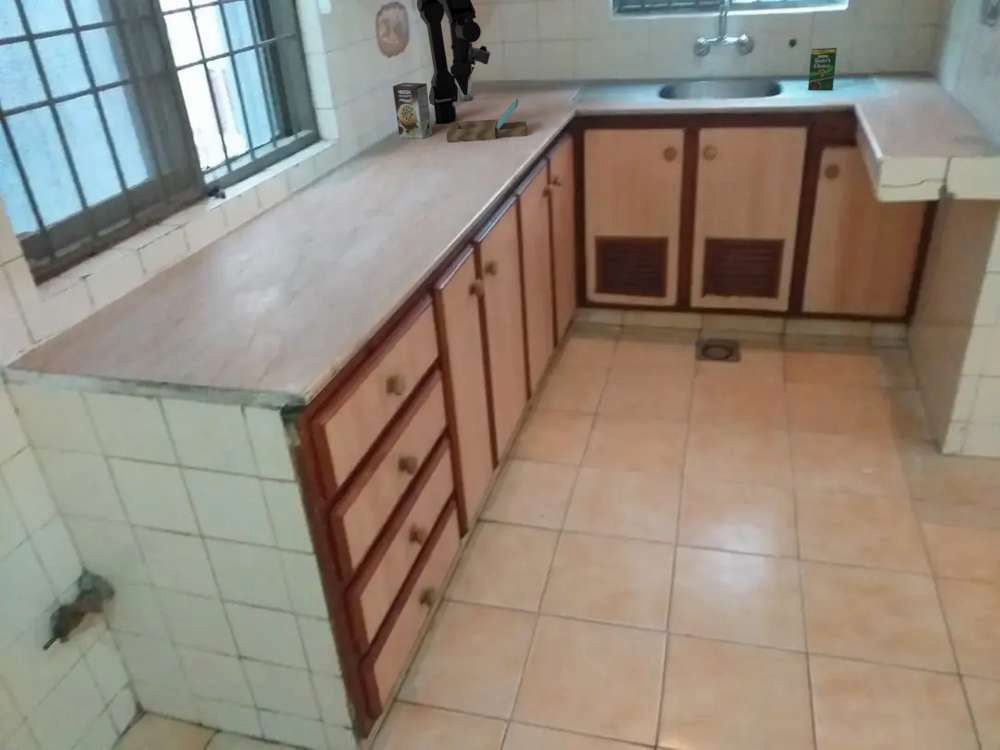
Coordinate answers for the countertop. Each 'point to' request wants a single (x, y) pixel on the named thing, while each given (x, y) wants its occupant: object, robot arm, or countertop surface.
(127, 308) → the countertop surface
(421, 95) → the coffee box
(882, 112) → the countertop surface
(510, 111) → the latch flap
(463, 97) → the peg
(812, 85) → the coffee box
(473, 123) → the socket block
